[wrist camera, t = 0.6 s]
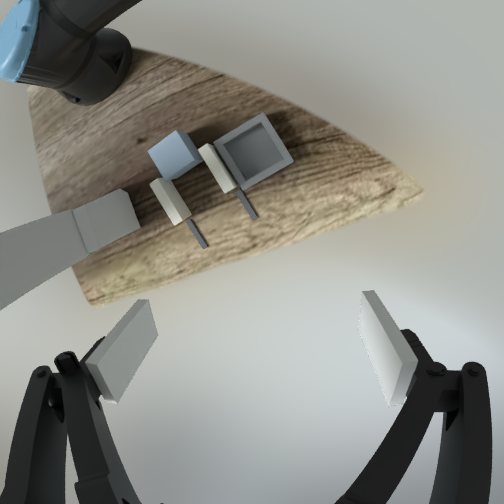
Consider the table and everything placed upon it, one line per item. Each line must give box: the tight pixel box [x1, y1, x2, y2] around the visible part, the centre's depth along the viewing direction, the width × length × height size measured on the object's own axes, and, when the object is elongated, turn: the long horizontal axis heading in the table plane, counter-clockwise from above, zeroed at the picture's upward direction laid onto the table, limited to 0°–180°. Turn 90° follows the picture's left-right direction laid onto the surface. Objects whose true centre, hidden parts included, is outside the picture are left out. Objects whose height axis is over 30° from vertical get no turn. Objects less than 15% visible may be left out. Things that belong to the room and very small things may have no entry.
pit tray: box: [213, 112, 294, 191], centre depth 37 cm, size 8×8×3 cm
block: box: [148, 130, 204, 180], centre depth 37 cm, size 5×5×5 cm
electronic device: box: [0, 189, 141, 310], centre depth 29 cm, size 12×8×30 cm, turn 109°
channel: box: [149, 144, 239, 226], centre depth 39 cm, size 7×10×4 cm
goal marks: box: [186, 189, 258, 249], centre depth 42 cm, size 5×10×1 cm, turn 121°
